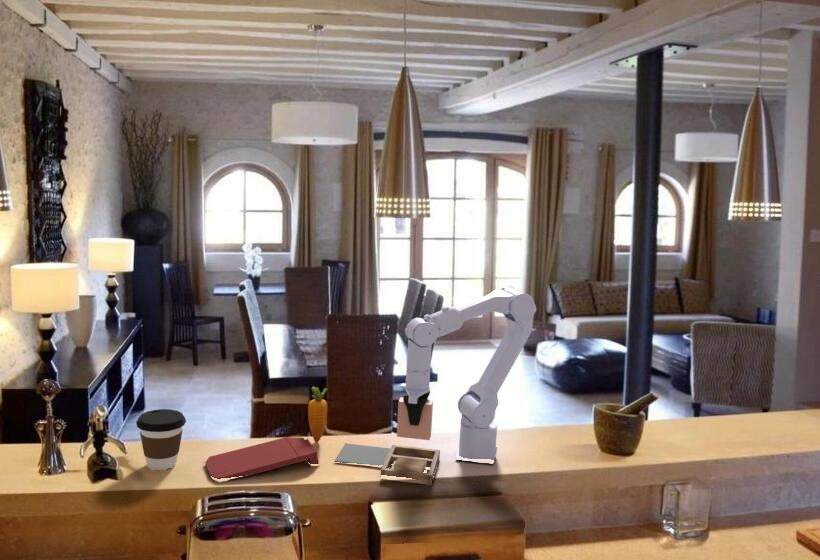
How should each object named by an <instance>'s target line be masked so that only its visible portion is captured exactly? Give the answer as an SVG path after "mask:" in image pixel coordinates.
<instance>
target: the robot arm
mask: <svg viewBox="0 0 820 560" xmlns="http://www.w3.org/2000/svg"><path fill="white" fill-rule="evenodd" d="M537 310H538V309H537V306H536V304H535V300H534V298H533V297H532V296H531V295H530V294H529V293H525V292H523V291H521V290H519V289H516V288H515V287H513V286H510V285H507V286H505V285H504V286H503V287H501V288H497V289H494V290H492V292H490V293H488V294H487V295H484V296H481V297H479V298H478V299H476V300H474V301H472V302H469V303H467V304H465V305H463V306H461V307H459V308H456V307H454V306H447V305H445V306H442V307H441V310H438V311H437V312H434V313H431V314H427V313H426V314H425V315H424V316H423V318H421V317H415V318H412V319H411V320H409V322H408V323H407V325H406V327H405V328H404V334H405V336H406V337H407V339H408V341H407V352H406V372H405V375H406V376H405V383H400V389H403V390H404V391H405V392H406V394H407V395H404V396H403V397H402V398H403V401H404V403H405V405H406V408H407V411H408V417H409V423H410V425H414V426H418V425H419V422H420V419H421V414H422V410H423V407H424V405H425V403H426V402H427V400H428V398H429V396H430V395H431V386H430V381H431V379H430V377H431V365H432V363H431V361H432V345H433V344H434V343H435V342H436V340H437V339H438V338H440V337H443V336H445V335H448V334H450V333H452V332H454V331H457V330H460V328H462V326H463V323H464V322H466V321H469V320H473V319H475V318H478V317H481V316H484V315H486V314H489V313H491V312H493V313H494V312H495V313H499V314H503V316H504V318H505V322H506V324H507V327H508V328H507V330H506V331H505V333H504V335H503V337H502V338H501V340H500V343H499V344H498V346H497V347H496V349H495V351H494V353H493V355H492V357H491V358H490V360H489V362H488V364H487V366H486V368H485V369H484V371H483V373H482V375H481V377H480V378H479V380H478V382H476V383H473V384H472V385H470V386H469V388H468V390H467V391H466V392H465V393H463V394H462V395H461V396H460V398H459V399H458V402H457V408H458V411H459V413H460V414H461V419H460V429H459V444H458V447H457V453H456V455H455V458H456V457H458V456H461V457H463V458H468V459H491V460H494V458H496V455H497V452H498V447H497V437H498V436H497V434H498V425H497V424H493V422H494V419H495V416H496V410H497V408H498V406H499V397H498V393H499V391H500V390H501V388H502V385H503V384H504V382H505V380H506V379H507V376H508V375H509V373H510V371H511V369H512V368H513V366H514V364H515V362H516V361H517V358H518V357H519V356H520V354H521V351H522V349H523V347H525V344H526V343H527V341H528V339H529V337H530V336H531V333H532V330H533V325H534V324H533V322H534V316H535V313H536V312H537ZM494 461H495V460H494Z"/></svg>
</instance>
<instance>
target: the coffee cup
mask: <svg viewBox="0 0 820 560" xmlns="http://www.w3.org/2000/svg"><path fill="white" fill-rule="evenodd" d="M186 423H187V419H186V418H185V416H184V414H183V412H181V411H179V410H176V409H171V408H169V409H167V408H160V409H152V410H149V411H145V412H143V413H141V414H140V415H139V417H138V418H137V420H136V422H135V425H136V427H137V428H138V429H139V435H140V440H141V445H142V452H143V455H144V458H145V463H146V466H147V467H148V468H149V469H150V470H151V469H153V470H152V471H156V470H162V471H165V470H164V469H168V468H171V467H172V468H174V467H175V466H176V463H177V461H178V455H179V452H180V448H181V442H182V436H183V427H184V426H185V424H186ZM173 466H174V467H173ZM172 468H171V469H172ZM168 470H169V469H168Z"/></svg>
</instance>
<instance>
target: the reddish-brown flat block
mask: <svg viewBox="0 0 820 560" xmlns="http://www.w3.org/2000/svg"><path fill="white" fill-rule="evenodd" d="M306 460H307V461H308V462H309V463H310V464H319V465H320V463H319V457H318V451H317V450H316V448H315V447H314V446H313V444H312V442H311V441H310V440H309V439H308V438H306V439H305V438H304V437H293V436H291V437H290V436H286V437H282V438H278V439H273V440H271V441H270V440H269V441H266V442H261V443H258V444H255V445H250V446H246V447H242V448H238V449H233V450H230V451H227V452H222V453H220V454H216V455H215V454H214V455H212V456H208V458H207V459H206V460H205V462H204V463H205V467H206V469H208V470H207V471H209V473H208V475H209V474H210V475H209V477H210V476H212V477H214V478H217V479H221V478H231V477H239V476H245V477H247V476H246V475H249V476H251V474H252V475H256V474H259V473H264V472H267V471H272V470H275V469H278V468H281V467H286V466H290V465H293V464H297V463H300V462H303V461H306ZM307 461H306V462H307ZM308 462H307V463H308Z"/></svg>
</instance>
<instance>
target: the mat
mask: <svg viewBox="0 0 820 560" xmlns="http://www.w3.org/2000/svg"><path fill="white" fill-rule="evenodd" d="M390 449H391V447H389V448H388V447H381V446H371V445H364V444H354V443H347V442H346V443H344V444H343V446H342V448H341V450H340V451H339V452H338V454H337V456H336V457H335V459H334V462H340V463H341V462H342V463H357V464H370V465H378V466H379V465H383V464H384V462H385V460H386V457H387V455H388V453H389V451H390Z"/></svg>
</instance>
